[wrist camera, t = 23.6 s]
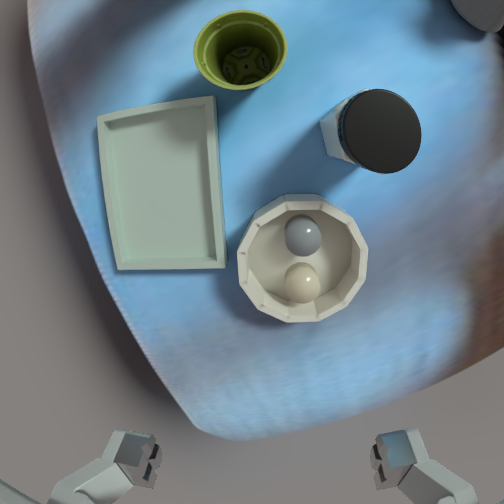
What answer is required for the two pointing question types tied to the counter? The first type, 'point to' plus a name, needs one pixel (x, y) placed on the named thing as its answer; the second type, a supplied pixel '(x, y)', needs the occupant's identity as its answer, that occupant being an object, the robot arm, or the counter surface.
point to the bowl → (301, 258)
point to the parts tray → (164, 185)
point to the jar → (373, 131)
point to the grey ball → (302, 235)
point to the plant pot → (236, 39)
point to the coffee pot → (482, 13)
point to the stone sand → (302, 283)
